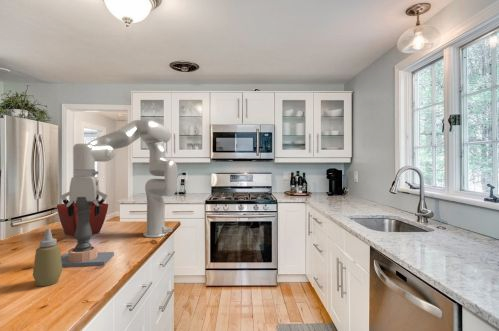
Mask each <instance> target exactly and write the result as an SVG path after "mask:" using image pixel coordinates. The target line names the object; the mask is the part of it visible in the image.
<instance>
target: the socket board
mask: <svg viewBox="0 0 499 331" xmlns="http://www.w3.org/2000/svg"><path fill="white" fill-rule="evenodd" d="M91 248H92V250H89V251H85V252H74V251H75V249H76V248H75V247H71V248H70V249H69V250H68V253H63V254H61V262H62V268H76V267H77V268H78V267H79V268H80V267H98V266H99V267H104V266H105V265H106V264H107V263H108V262H109V261H110V260H111V259H112V258H113V257H114V255H115V251H104V252H103V251H102V252H101V251H99V250H98V246H97V245H92V244H91ZM98 251H99V252H98Z"/></svg>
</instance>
